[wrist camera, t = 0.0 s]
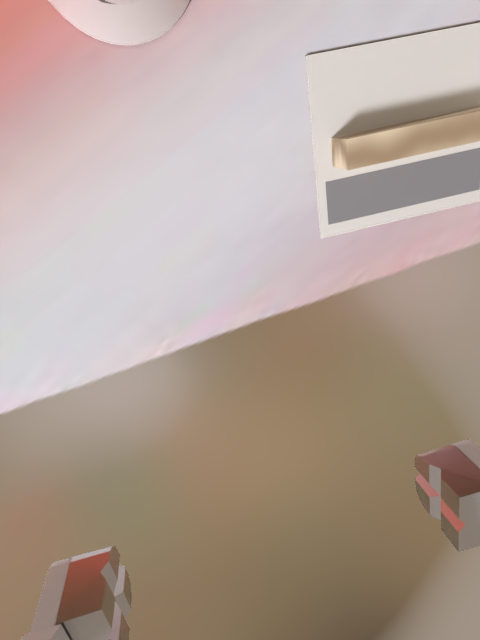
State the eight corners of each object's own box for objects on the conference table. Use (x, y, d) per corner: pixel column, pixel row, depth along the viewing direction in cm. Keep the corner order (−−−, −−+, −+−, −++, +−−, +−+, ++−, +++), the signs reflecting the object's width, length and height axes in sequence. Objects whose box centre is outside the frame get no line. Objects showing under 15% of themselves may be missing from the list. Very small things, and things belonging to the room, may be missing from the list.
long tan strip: (330, 138, 44) (346, 139, 40) (480, 106, 45) (507, 104, 42) (332, 166, 45) (348, 170, 42) (477, 134, 47) (503, 135, 43)
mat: (305, 56, 40) (306, 55, 40) (634, -7, 44) (639, -8, 43) (320, 237, 49) (321, 238, 49) (593, 173, 53) (596, 173, 52)
